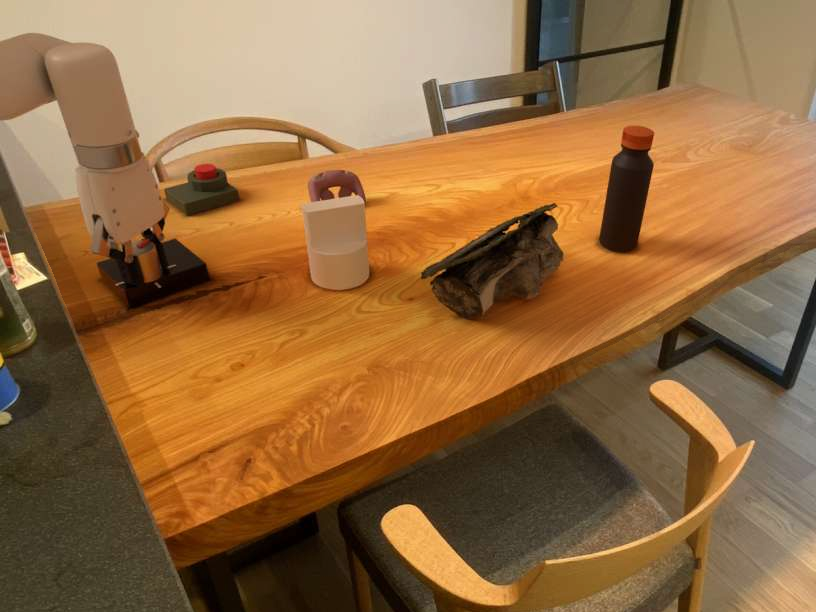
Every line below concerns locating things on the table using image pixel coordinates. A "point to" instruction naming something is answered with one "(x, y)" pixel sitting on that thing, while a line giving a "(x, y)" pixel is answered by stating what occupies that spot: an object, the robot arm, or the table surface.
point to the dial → (147, 259)
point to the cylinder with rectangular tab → (337, 242)
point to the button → (205, 171)
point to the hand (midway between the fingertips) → (146, 273)
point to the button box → (202, 193)
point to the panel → (176, 277)
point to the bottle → (627, 190)
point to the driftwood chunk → (498, 264)
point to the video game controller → (334, 185)
